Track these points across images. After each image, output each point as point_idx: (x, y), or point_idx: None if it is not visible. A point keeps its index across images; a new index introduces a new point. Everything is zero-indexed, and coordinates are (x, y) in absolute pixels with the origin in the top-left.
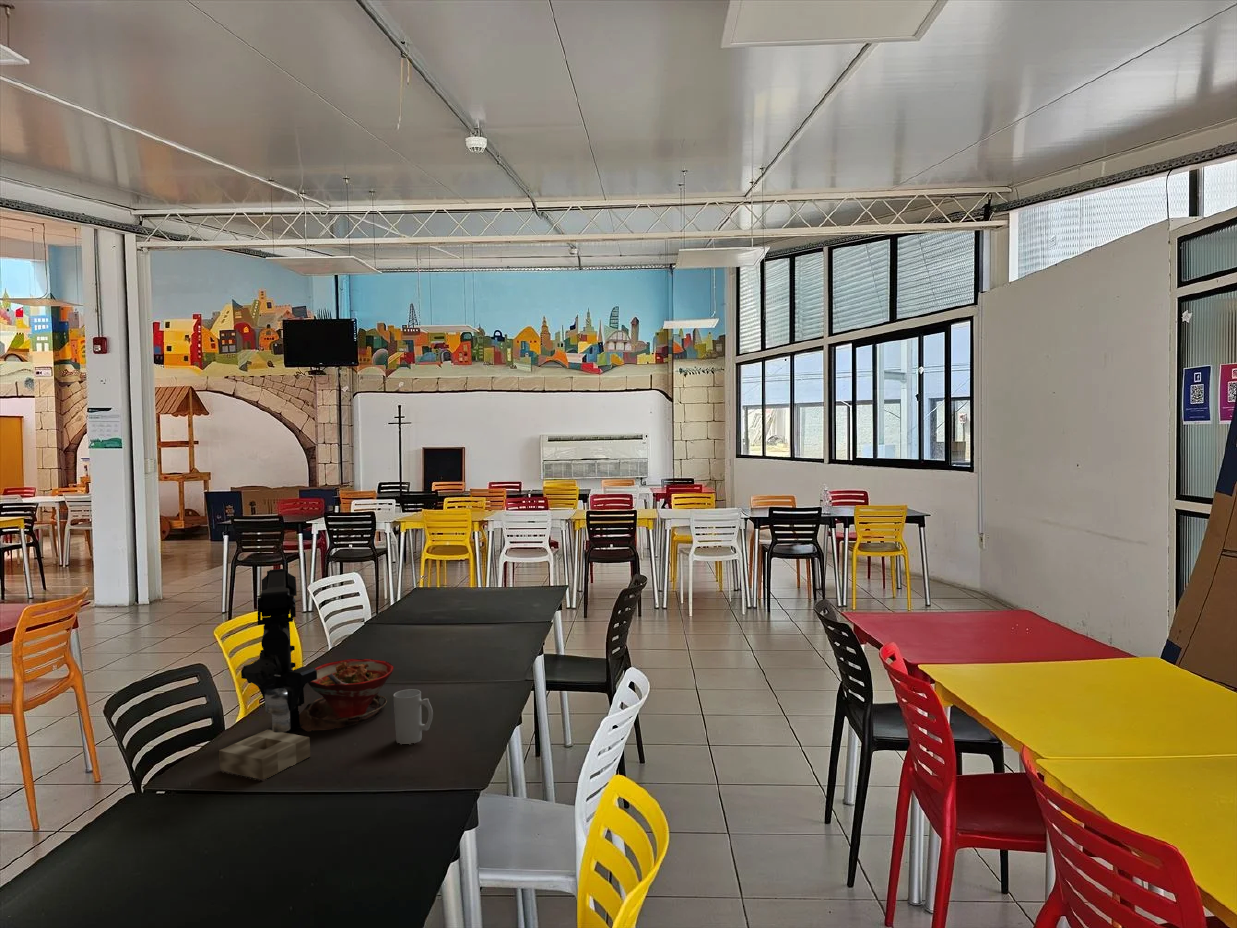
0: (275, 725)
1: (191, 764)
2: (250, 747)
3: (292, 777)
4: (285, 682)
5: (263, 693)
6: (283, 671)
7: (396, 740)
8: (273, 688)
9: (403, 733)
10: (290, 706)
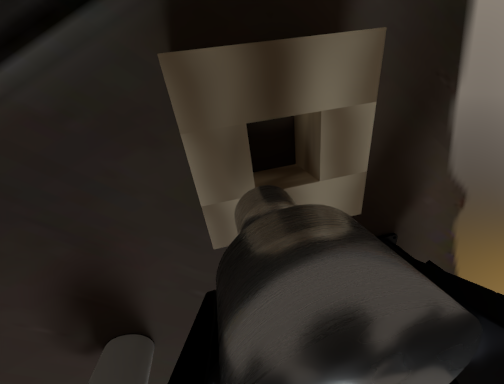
0: (263, 198)
1: (438, 38)
2: (303, 110)
3: (129, 131)
4: None
5: (494, 308)
6: None
7: (136, 337)
8: (465, 381)
9: (102, 364)
10: (198, 318)
